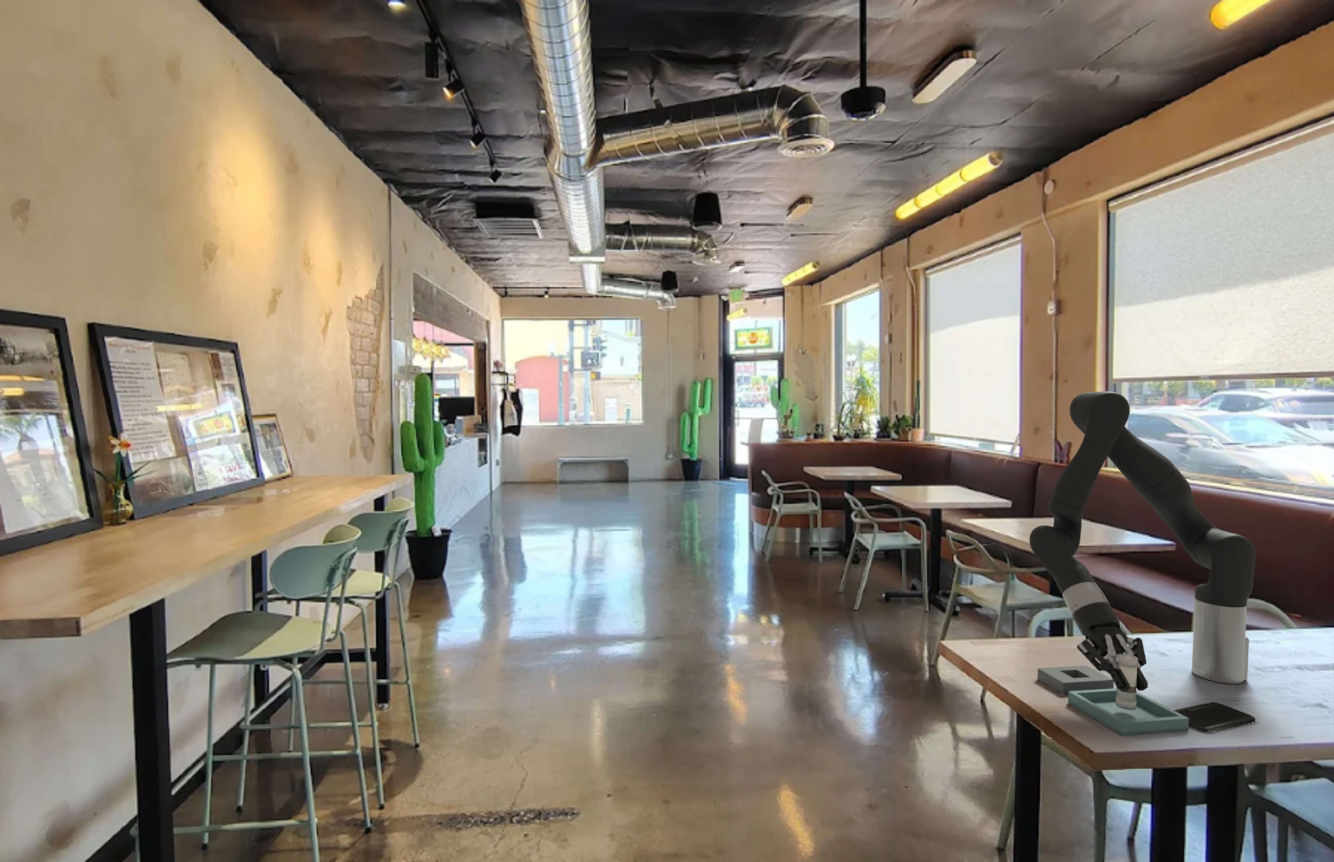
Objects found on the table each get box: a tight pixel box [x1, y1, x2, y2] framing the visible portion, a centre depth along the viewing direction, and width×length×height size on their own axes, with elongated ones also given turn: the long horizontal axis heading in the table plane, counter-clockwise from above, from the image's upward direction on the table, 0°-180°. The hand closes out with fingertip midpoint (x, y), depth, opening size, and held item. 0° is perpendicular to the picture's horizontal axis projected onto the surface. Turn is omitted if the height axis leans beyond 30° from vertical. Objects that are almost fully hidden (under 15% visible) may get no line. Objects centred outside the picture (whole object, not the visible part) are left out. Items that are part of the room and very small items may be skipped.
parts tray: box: [1067, 687, 1190, 737], centre depth 136 cm, size 14×14×2 cm
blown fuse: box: [1116, 653, 1138, 710], centre depth 135 cm, size 3×3×10 cm
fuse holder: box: [1037, 665, 1115, 695], centre depth 150 cm, size 12×8×2 cm, turn 98°
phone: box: [1173, 701, 1256, 733], centre depth 135 cm, size 8×1×15 cm
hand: (1134, 689), depth 133 cm, fingers closed on blown fuse, 3 cm apart
